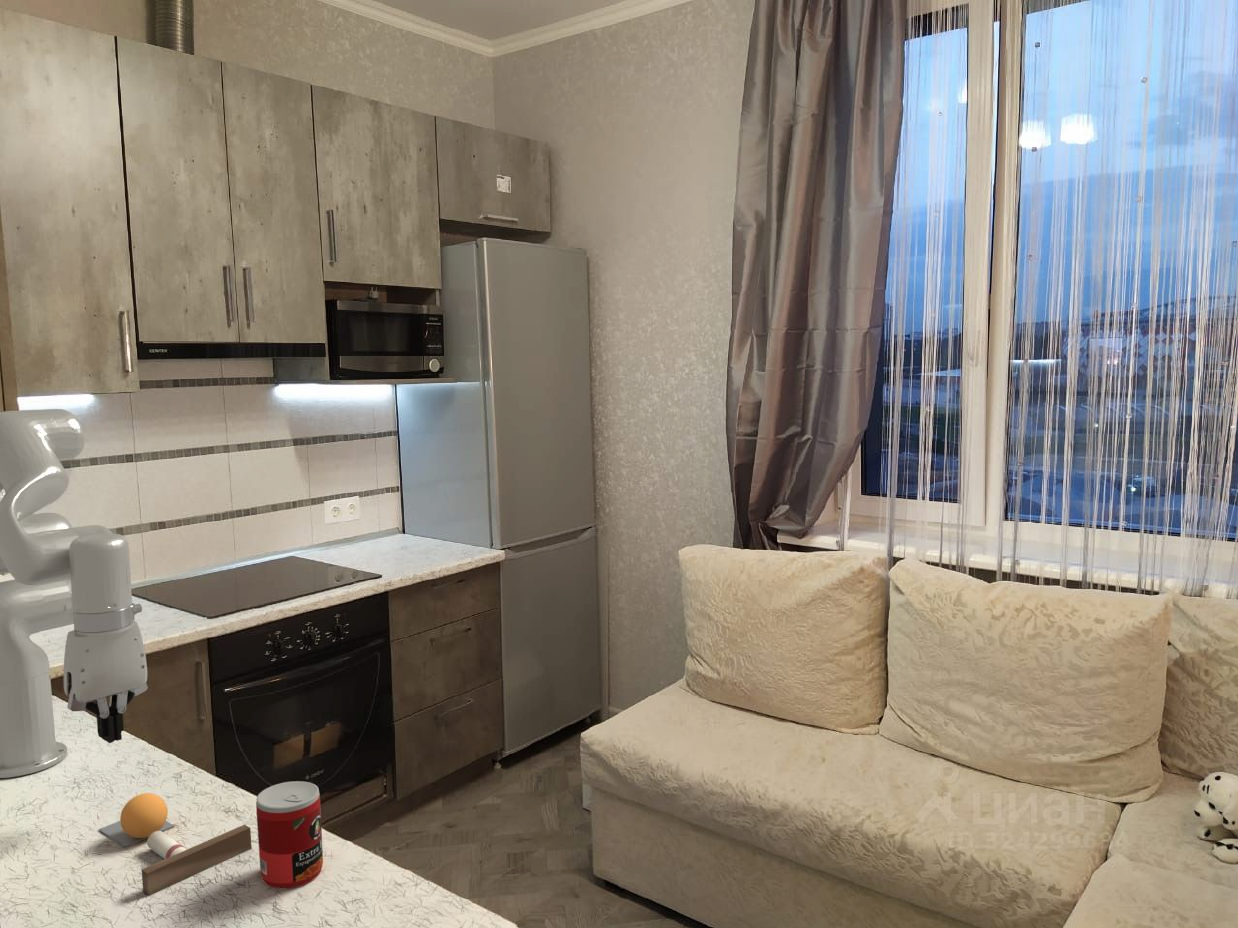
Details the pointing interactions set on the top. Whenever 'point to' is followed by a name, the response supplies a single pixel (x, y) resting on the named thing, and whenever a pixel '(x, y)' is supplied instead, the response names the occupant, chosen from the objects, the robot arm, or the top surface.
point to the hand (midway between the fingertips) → (111, 738)
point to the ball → (143, 815)
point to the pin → (164, 845)
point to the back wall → (195, 859)
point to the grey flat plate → (124, 839)
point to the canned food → (289, 834)
